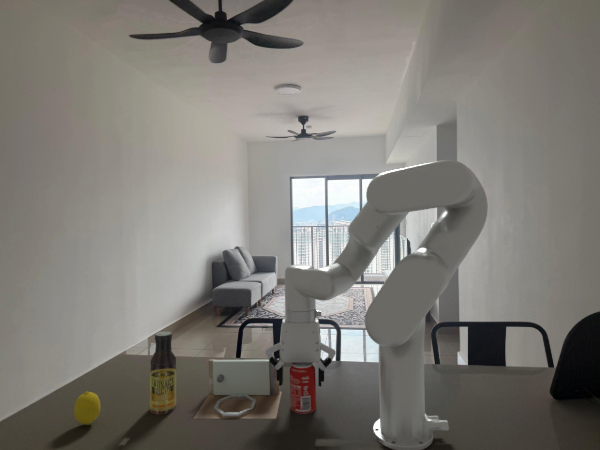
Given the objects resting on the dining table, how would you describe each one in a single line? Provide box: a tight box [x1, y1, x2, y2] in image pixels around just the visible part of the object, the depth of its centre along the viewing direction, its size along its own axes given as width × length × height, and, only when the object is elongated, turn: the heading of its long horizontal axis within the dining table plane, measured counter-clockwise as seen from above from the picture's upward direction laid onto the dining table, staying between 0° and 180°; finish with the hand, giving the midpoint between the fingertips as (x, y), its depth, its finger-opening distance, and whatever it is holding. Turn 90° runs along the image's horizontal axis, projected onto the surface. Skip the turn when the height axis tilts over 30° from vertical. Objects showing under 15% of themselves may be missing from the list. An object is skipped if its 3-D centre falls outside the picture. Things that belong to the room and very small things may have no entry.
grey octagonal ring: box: [214, 395, 256, 417], centre depth 97 cm, size 10×10×1 cm
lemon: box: [73, 391, 102, 426], centre depth 93 cm, size 6×6×8 cm
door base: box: [193, 358, 283, 420], centre depth 99 cm, size 20×14×10 cm
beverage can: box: [289, 362, 317, 415], centre depth 96 cm, size 6×6×12 cm
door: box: [213, 359, 275, 395], centre depth 103 cm, size 16×2×9 cm, turn 87°
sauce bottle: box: [149, 330, 177, 415], centre depth 98 cm, size 6×6×20 cm
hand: (300, 383), depth 97 cm, fingers open, 9 cm apart
